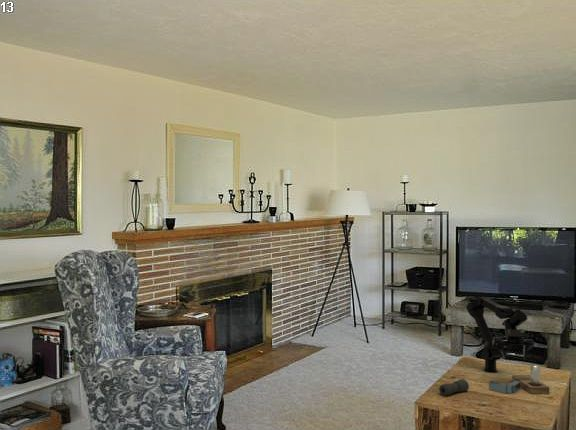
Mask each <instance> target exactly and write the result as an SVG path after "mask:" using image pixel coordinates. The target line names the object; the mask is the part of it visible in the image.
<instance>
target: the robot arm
mask: <svg viewBox="0 0 576 430" xmlns="http://www.w3.org/2000/svg"><path fill="white" fill-rule="evenodd" d="M485 308H486V309H488V310H490V311H492V312H493V313H494V315H495V316H496V317H497V318H498V319H500V320H503V319H504V320H503V322H502V323H501V325H502V326H503V327H504V331H505V332H504V333H505V334H504V335H505V340H504V339H503V337H502V336H501V337H500V336H494V338H493V336H492V332H491V331H490V328H489V327H488V324H487V322H486V319H485V316H484V314H485ZM466 311H467V312H468V314H469V316H471V317H472V318H473V319H474V321H475V324H476V326H477V328H478V331H479V334H480V335H481V338H482V341H483V352H482V353H480V357H481V359H482V360H484V367H483V371H484V372H488V373H498V368H497V360H501V357H503V358H504V360H505V359H507V355H506V350H505V345H511V346H512V345H513V346H522V348H523V349H522V354H523V359H524V361H526V358H527V356H528V355H527V354H528V352H529V351H530V350H532V349H533V348H534V345H535V341H534V340H533V339H531V338H525V339H524V340H522V341H521V337H524V336H525V329H524V328H520V329H518V327H519V326H521V325H522V324H524V323H525V322H527V320H528V316H527V315H526V313H524V312H523V311H521V309H519V308H518V309H517V308H516V309H515V310H513V308H512V307H510V306H507V305H501V304H499V303H497V302H495V301H493V300H491V299H489V298H488V297H487V296H480V297H478V298H476V299H474V300H472V301H470V302H468V303H467V304H466Z"/></svg>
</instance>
